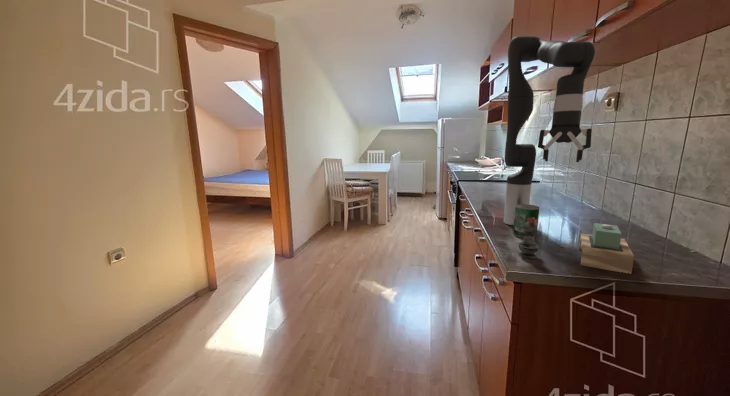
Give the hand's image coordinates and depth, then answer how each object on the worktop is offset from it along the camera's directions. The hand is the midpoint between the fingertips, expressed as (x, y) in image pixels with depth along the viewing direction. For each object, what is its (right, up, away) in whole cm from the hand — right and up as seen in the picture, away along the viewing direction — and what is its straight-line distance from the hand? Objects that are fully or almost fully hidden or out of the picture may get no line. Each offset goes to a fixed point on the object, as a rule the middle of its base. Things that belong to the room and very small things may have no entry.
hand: (561, 161), depth 98 cm
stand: (+6, -30, -9) cm, 32 cm away
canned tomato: (-4, -26, +15) cm, 30 cm away
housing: (+6, -25, -10) cm, 28 cm away
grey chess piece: (-14, -30, -5) cm, 34 cm away
